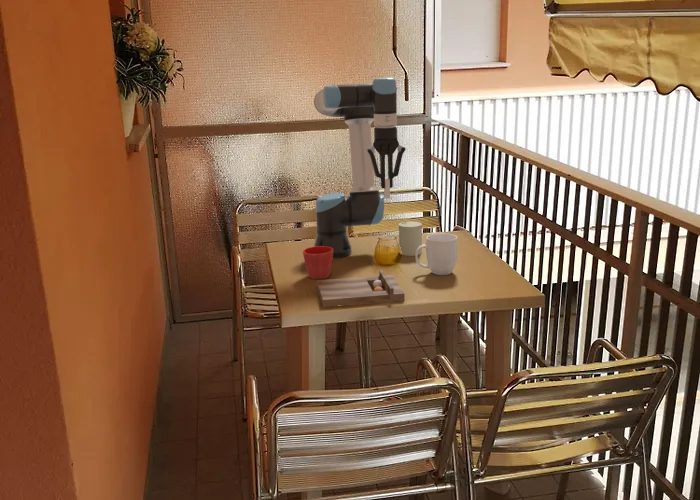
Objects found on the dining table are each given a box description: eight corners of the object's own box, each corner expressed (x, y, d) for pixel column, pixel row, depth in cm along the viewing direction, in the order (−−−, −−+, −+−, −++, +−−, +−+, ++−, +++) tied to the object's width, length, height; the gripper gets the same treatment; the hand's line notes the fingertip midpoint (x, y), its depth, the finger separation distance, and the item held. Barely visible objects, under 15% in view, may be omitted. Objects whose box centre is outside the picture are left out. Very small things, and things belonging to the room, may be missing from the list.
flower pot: (299, 274, 262) (298, 248, 259) (328, 269, 266) (326, 244, 263) (310, 282, 252) (308, 255, 250) (339, 277, 256) (338, 251, 254)
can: (406, 248, 290) (406, 219, 287) (426, 251, 285) (426, 221, 281) (394, 253, 283) (393, 224, 279) (414, 257, 277) (414, 226, 274)
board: (317, 287, 246) (316, 274, 245) (392, 281, 249) (392, 269, 248) (323, 307, 227) (322, 293, 226) (404, 300, 230) (404, 287, 229)
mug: (417, 278, 252) (417, 242, 248) (413, 269, 262) (413, 234, 259) (460, 276, 252) (460, 240, 249) (454, 267, 263) (454, 232, 259)
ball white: (371, 280, 243) (380, 277, 243) (373, 288, 244) (382, 285, 244) (372, 283, 240) (381, 280, 240) (375, 292, 241) (384, 288, 241)
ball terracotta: (370, 291, 236) (376, 283, 236) (378, 296, 237) (384, 288, 237) (372, 294, 233) (378, 286, 233) (380, 299, 234) (386, 291, 234)
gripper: (367, 128, 232) (369, 201, 238) (407, 126, 233) (408, 198, 240) (364, 126, 239) (366, 196, 245) (402, 124, 240) (403, 194, 247)
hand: (387, 197), depth 242 cm, fingers closed
